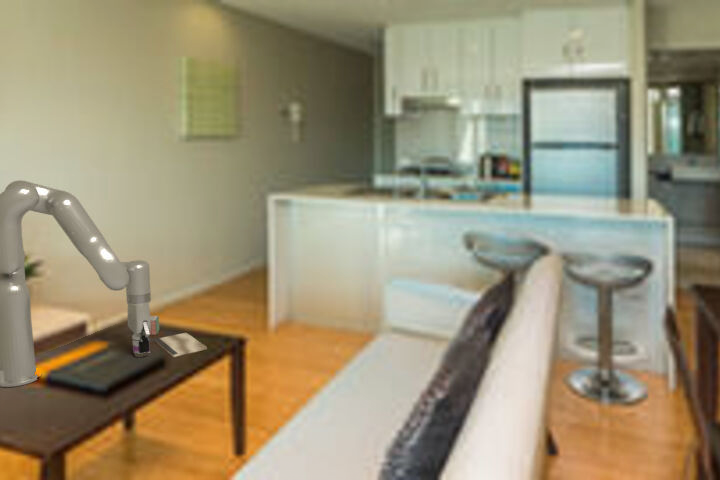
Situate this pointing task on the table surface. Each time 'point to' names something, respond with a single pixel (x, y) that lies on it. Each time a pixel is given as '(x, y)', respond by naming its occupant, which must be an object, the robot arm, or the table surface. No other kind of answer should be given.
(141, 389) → the table surface
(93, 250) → the robot arm
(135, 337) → the pill bottle
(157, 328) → the puzzle toy
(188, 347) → the board
